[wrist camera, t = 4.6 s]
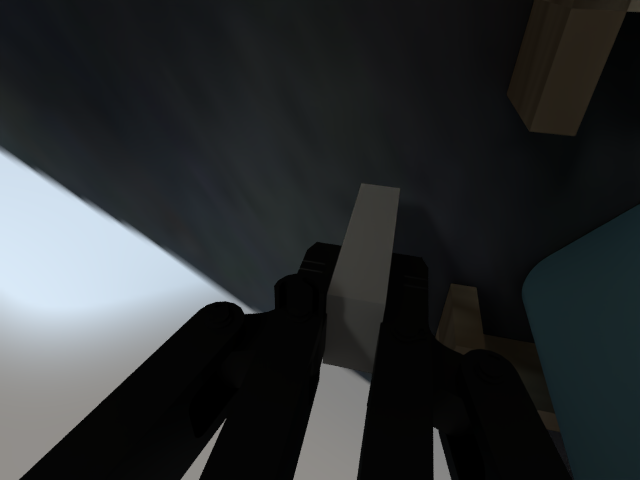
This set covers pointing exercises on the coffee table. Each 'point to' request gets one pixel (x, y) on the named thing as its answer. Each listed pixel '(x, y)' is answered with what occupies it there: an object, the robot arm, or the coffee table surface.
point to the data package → (592, 346)
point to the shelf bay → (545, 117)
